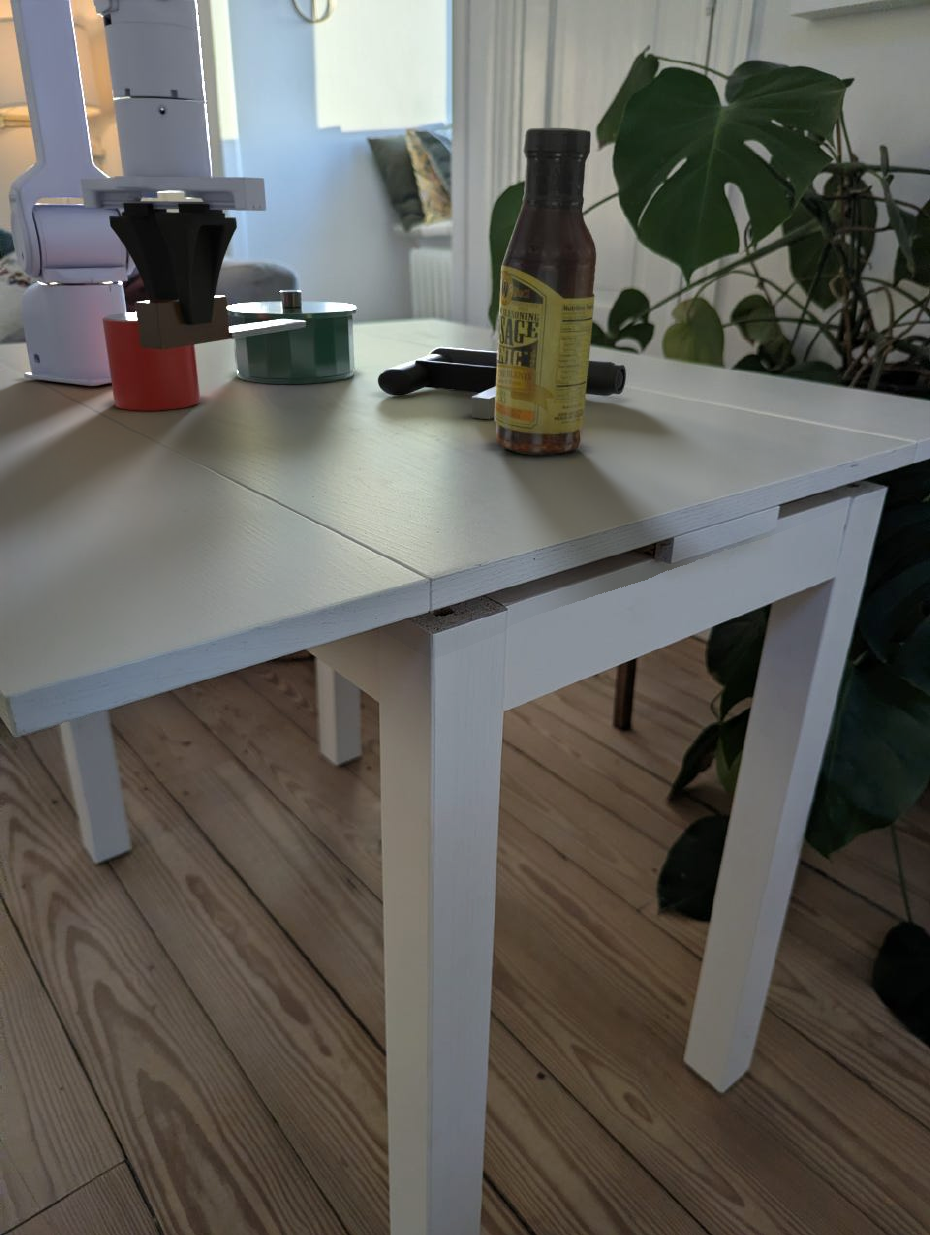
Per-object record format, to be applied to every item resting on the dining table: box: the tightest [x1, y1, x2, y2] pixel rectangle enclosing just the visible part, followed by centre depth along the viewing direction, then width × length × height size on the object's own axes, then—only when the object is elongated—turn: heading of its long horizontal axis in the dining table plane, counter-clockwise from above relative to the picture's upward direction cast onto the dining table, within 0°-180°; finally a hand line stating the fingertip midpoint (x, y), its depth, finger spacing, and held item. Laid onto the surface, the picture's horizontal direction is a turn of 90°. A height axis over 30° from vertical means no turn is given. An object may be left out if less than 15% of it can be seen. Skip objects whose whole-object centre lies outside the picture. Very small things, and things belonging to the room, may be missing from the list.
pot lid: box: [227, 289, 357, 319], centre depth 89 cm, size 13×13×3 cm
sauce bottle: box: [494, 127, 597, 456], centre depth 60 cm, size 6×6×20 cm
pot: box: [230, 314, 355, 385], centre depth 91 cm, size 12×12×6 cm
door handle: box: [377, 346, 627, 420], centre depth 80 cm, size 3×20×16 cm
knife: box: [134, 295, 306, 350], centre depth 68 cm, size 16×2×3 cm, turn 153°
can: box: [102, 311, 201, 412], centre depth 76 cm, size 7×7×7 cm
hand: (184, 322), depth 64 cm, fingers closed on knife, 2 cm apart
